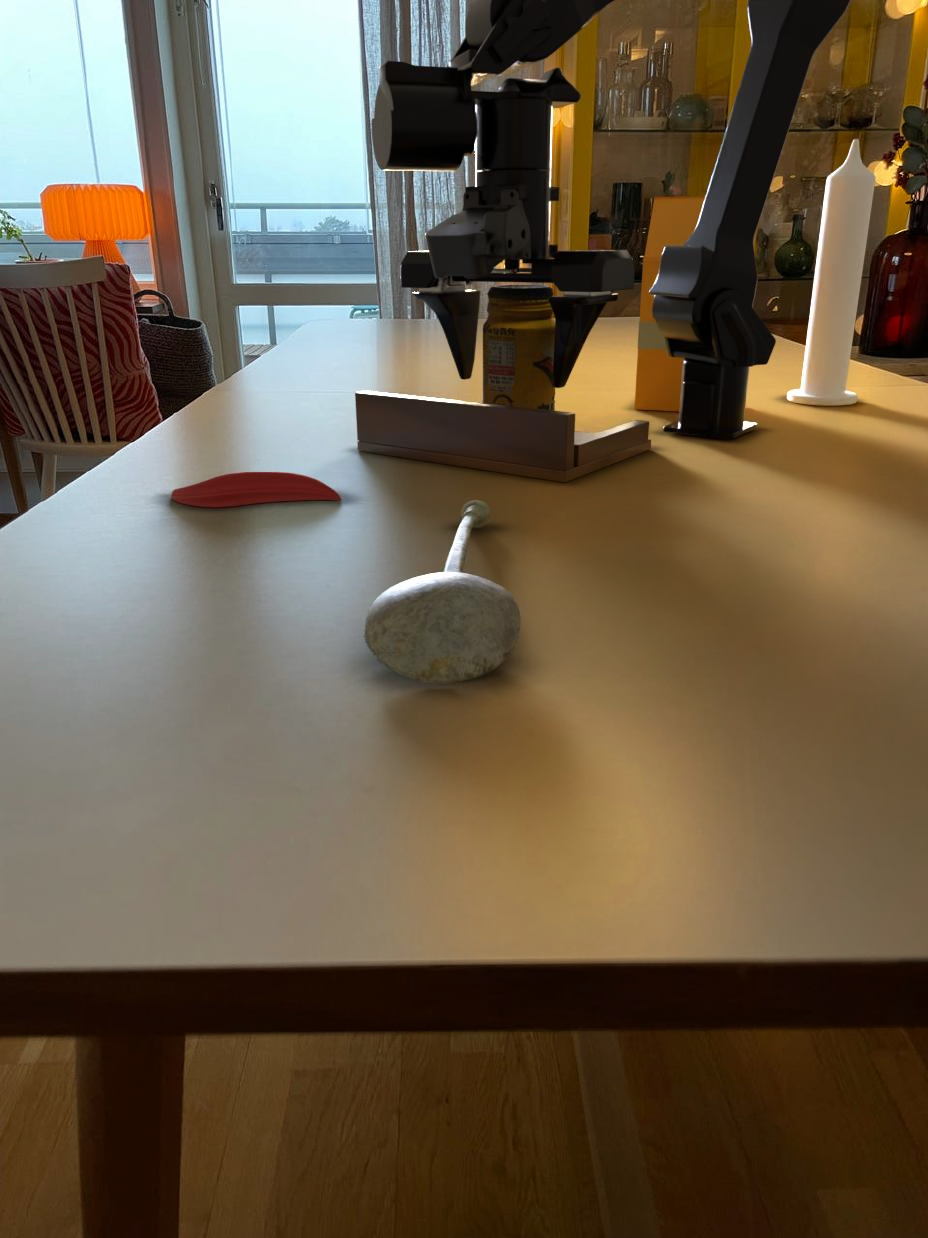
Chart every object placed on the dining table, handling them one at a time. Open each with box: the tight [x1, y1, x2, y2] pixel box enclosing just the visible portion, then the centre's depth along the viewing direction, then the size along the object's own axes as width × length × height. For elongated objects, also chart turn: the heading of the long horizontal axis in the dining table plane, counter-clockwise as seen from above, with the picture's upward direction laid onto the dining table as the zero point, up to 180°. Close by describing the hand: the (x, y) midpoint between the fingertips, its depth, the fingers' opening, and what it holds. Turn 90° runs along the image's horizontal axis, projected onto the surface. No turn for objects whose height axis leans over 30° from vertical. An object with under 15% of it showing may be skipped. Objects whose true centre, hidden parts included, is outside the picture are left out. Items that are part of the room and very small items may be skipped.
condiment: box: [482, 284, 556, 411], centre depth 76 cm, size 7×8×12 cm
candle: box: [786, 138, 876, 407], centre depth 95 cm, size 7×7×25 cm
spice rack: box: [354, 390, 652, 483], centre depth 77 cm, size 14×20×5 cm
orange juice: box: [633, 195, 706, 412], centre depth 94 cm, size 8×9×20 cm
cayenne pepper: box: [170, 471, 342, 508], centre depth 63 cm, size 12×5×2 cm, turn 78°
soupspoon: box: [363, 499, 522, 684], centre depth 46 cm, size 22×3×7 cm
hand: (511, 382), depth 77 cm, fingers open, 9 cm apart
